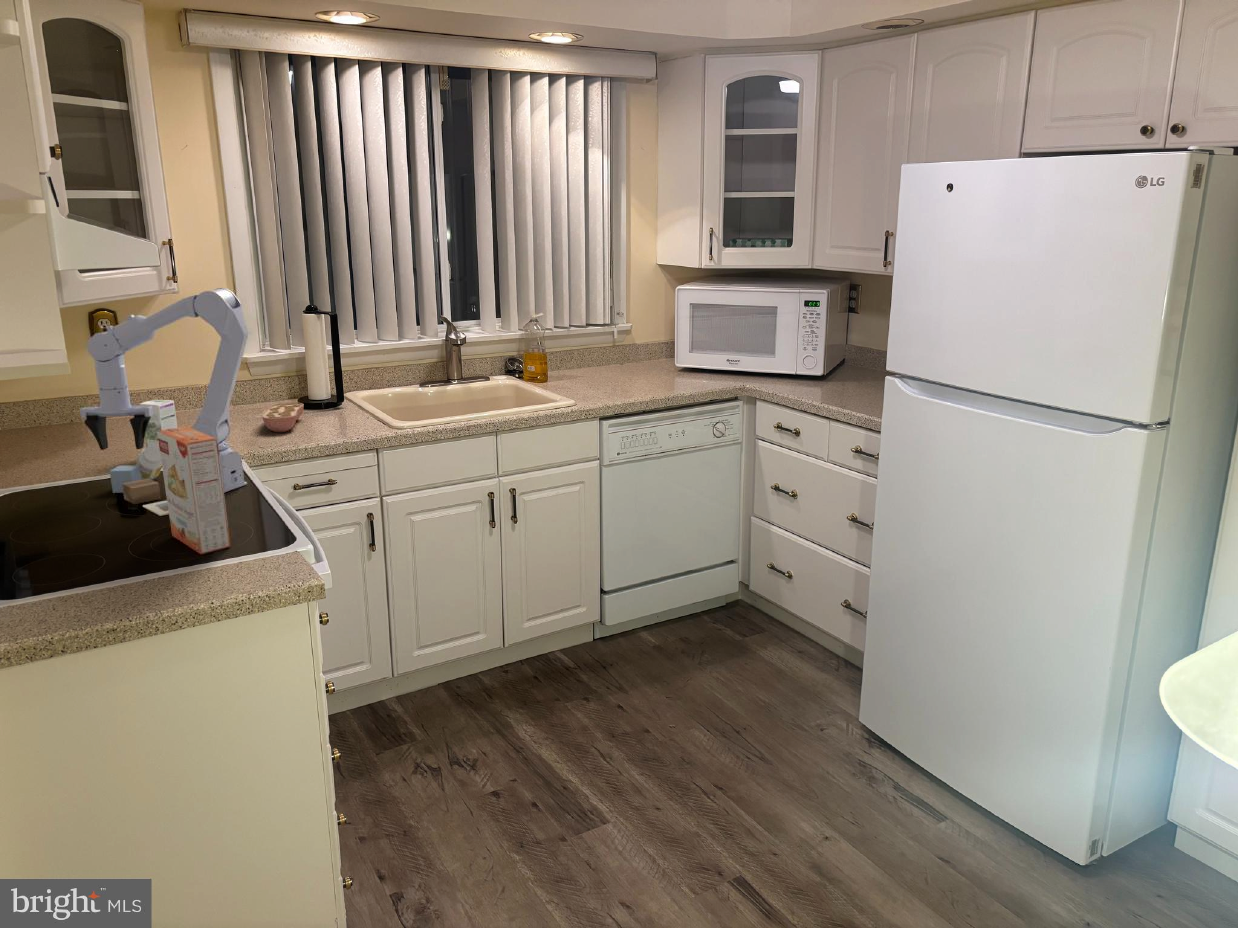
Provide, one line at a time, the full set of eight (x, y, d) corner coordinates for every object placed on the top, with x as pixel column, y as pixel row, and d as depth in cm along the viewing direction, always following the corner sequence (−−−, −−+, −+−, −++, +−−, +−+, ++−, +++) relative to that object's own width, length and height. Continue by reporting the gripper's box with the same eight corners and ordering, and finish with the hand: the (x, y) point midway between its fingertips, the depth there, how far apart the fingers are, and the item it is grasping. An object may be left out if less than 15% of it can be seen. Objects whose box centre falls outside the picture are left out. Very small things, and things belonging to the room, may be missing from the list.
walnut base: (160, 498, 201) (158, 483, 200) (134, 504, 197) (131, 488, 196) (150, 493, 204) (148, 478, 203) (124, 499, 200) (122, 483, 199)
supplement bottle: (156, 457, 217) (163, 440, 210) (162, 478, 216) (169, 461, 209) (131, 461, 214) (137, 444, 207) (137, 482, 213) (144, 466, 206)
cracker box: (169, 537, 176) (155, 430, 171) (202, 530, 180) (188, 425, 175) (198, 556, 167) (184, 442, 161) (232, 547, 171) (218, 437, 165)
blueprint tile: (189, 509, 193) (189, 507, 193) (160, 515, 189) (159, 513, 189) (172, 500, 199) (171, 498, 199) (142, 506, 195) (142, 505, 195)
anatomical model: (295, 434, 260) (293, 417, 259) (258, 436, 258) (256, 418, 257) (307, 418, 282) (305, 401, 280) (272, 419, 280) (271, 403, 279)
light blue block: (142, 486, 210) (139, 465, 209) (134, 492, 205) (130, 470, 204) (122, 487, 210) (118, 465, 208) (113, 492, 205) (109, 471, 204)
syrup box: (182, 455, 237) (175, 399, 233) (165, 461, 231) (157, 404, 228) (163, 454, 238) (156, 398, 235) (146, 459, 233) (138, 403, 229)
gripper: (155, 384, 206) (163, 443, 209) (87, 385, 205) (96, 444, 209) (141, 389, 199) (150, 451, 203) (71, 390, 198) (81, 452, 202)
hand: (122, 448), depth 205 cm, fingers open, 7 cm apart
